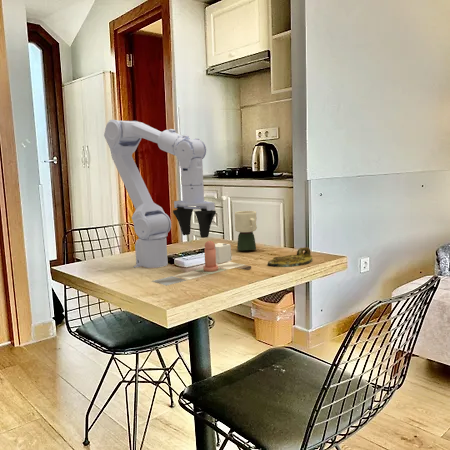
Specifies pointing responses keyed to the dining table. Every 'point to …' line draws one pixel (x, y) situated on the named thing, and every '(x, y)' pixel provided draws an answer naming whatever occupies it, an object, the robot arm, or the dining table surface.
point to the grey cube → (223, 252)
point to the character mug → (245, 229)
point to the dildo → (210, 257)
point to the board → (194, 274)
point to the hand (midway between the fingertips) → (195, 236)
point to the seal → (292, 259)
